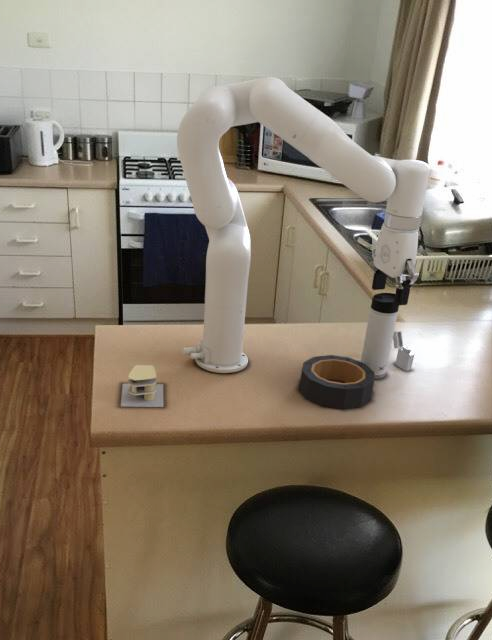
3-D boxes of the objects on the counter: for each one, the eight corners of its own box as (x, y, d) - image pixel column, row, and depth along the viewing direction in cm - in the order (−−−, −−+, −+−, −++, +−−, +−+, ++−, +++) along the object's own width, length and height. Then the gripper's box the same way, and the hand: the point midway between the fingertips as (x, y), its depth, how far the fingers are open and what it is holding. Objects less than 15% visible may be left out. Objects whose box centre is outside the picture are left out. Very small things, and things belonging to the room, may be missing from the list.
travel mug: (386, 381, 163) (403, 301, 154) (358, 377, 164) (372, 297, 155) (386, 369, 169) (402, 292, 159) (359, 365, 170) (373, 288, 160)
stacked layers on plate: (122, 383, 155) (122, 361, 152) (163, 384, 155) (163, 362, 153) (120, 406, 146) (120, 383, 143) (163, 407, 147) (163, 384, 144)
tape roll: (318, 412, 149) (321, 391, 146) (289, 377, 162) (291, 358, 160) (383, 404, 154) (387, 384, 151) (350, 371, 167) (353, 352, 164)
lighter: (411, 370, 169) (418, 340, 166) (406, 371, 169) (412, 341, 165) (392, 357, 175) (398, 328, 171) (386, 359, 174) (392, 329, 170)
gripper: (367, 211, 154) (356, 284, 163) (408, 233, 140) (394, 312, 149) (396, 210, 157) (384, 282, 165) (440, 232, 142) (424, 310, 151)
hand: (388, 296), depth 157 cm, fingers open, 9 cm apart
